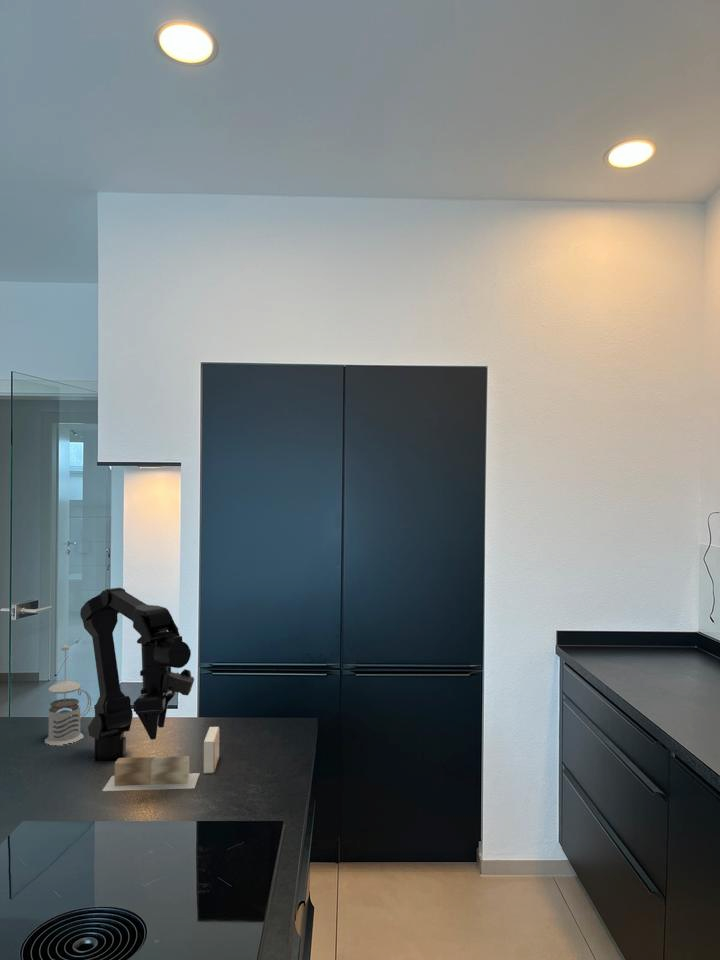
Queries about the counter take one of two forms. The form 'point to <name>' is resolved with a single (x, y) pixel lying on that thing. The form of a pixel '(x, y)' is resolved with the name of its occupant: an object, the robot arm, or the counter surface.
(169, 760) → the beige rectangular block
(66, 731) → the french press
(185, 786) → the mat
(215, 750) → the glazed tile
